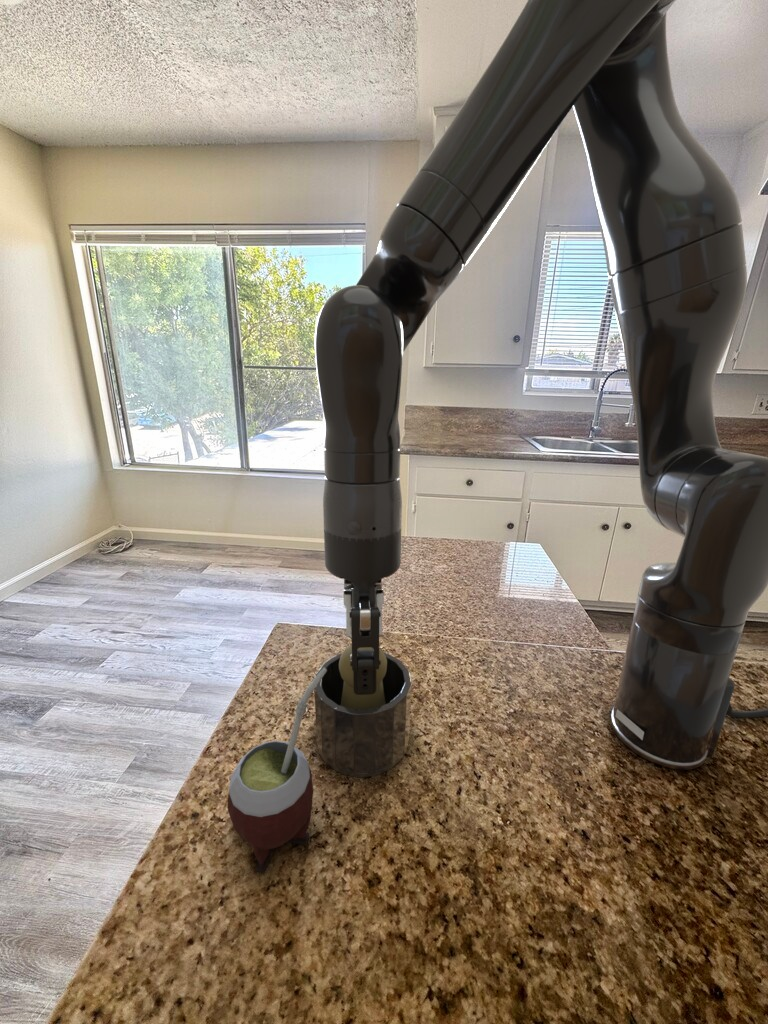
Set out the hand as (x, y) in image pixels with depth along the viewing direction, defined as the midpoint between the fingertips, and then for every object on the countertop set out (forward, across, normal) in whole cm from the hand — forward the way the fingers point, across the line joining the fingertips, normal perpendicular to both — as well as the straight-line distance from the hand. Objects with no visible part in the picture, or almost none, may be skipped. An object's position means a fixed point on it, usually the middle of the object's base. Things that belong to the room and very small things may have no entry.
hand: (363, 664), depth 45 cm
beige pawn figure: (+9, 0, 0) cm, 9 cm away
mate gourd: (+10, -10, +8) cm, 16 cm away
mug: (+10, +2, 0) cm, 10 cm away
